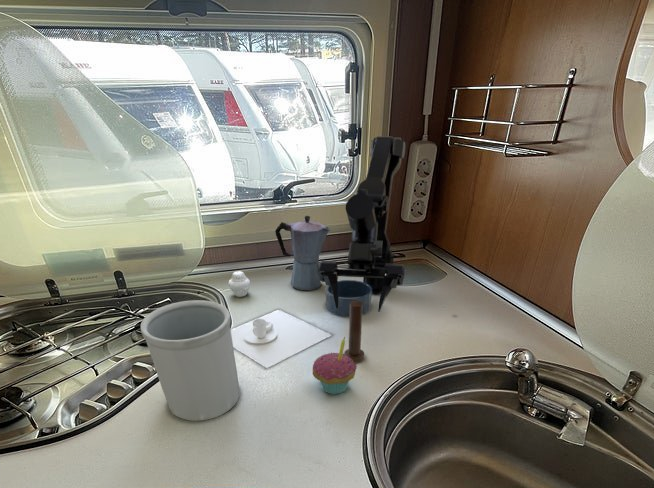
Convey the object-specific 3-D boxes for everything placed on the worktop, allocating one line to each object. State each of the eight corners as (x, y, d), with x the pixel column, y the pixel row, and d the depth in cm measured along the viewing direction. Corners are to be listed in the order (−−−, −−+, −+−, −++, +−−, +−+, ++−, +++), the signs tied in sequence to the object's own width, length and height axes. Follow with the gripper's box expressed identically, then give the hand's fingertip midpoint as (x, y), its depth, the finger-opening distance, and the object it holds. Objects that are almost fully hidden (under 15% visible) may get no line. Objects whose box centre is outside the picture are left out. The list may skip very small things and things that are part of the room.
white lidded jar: (255, 292, 122) (253, 269, 118) (242, 300, 118) (239, 276, 114) (239, 288, 125) (236, 265, 121) (225, 296, 121) (221, 272, 117)
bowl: (316, 306, 114) (316, 289, 111) (346, 293, 121) (346, 276, 118) (350, 321, 107) (351, 303, 104) (380, 305, 114) (381, 288, 111)
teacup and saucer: (265, 324, 106) (264, 309, 104) (286, 335, 102) (285, 320, 99) (237, 337, 102) (235, 321, 99) (257, 349, 97) (255, 333, 95)
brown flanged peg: (340, 358, 93) (340, 304, 86) (352, 350, 96) (354, 297, 88) (355, 365, 91) (357, 310, 83) (368, 357, 93) (371, 303, 86)
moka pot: (330, 291, 122) (330, 220, 110) (277, 292, 123) (271, 221, 111) (330, 278, 130) (330, 210, 118) (280, 279, 130) (275, 211, 118)
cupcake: (360, 379, 87) (362, 327, 80) (348, 404, 80) (350, 350, 73) (320, 372, 89) (319, 321, 82) (306, 395, 83) (304, 342, 76)
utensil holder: (217, 431, 74) (198, 346, 64) (148, 414, 79) (120, 331, 68) (255, 385, 86) (245, 306, 75) (193, 371, 90) (175, 295, 80)
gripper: (318, 223, 88) (310, 294, 86) (409, 225, 85) (403, 299, 83) (324, 248, 99) (317, 312, 97) (404, 251, 96) (400, 316, 94)
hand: (357, 310), depth 92 cm, fingers open, 9 cm apart
